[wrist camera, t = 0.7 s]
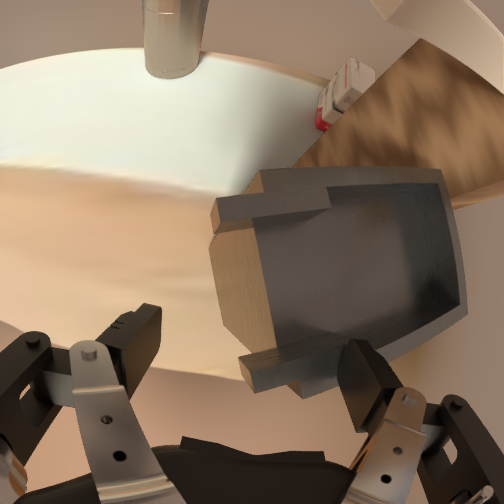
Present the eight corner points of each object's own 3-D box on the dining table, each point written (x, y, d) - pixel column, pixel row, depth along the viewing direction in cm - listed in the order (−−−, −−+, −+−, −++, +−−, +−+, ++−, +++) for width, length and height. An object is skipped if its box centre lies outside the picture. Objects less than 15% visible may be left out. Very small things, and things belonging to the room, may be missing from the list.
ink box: (339, 138, 43) (379, 103, 31) (314, 127, 42) (349, 87, 30) (342, 104, 44) (376, 68, 33) (318, 93, 43) (349, 54, 32)
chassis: (193, 250, 35) (212, 174, 11) (300, 233, 38) (441, 168, 15) (208, 327, 34) (258, 413, 10) (314, 303, 38) (467, 314, 14)
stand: (291, 167, 39) (456, 5, 8) (350, 165, 42) (509, 56, 10) (310, 246, 39) (550, 162, 7) (368, 235, 41) (564, 174, 9)
